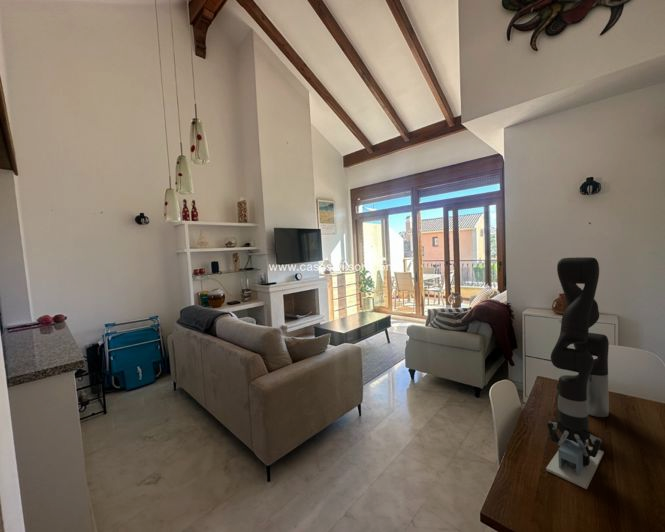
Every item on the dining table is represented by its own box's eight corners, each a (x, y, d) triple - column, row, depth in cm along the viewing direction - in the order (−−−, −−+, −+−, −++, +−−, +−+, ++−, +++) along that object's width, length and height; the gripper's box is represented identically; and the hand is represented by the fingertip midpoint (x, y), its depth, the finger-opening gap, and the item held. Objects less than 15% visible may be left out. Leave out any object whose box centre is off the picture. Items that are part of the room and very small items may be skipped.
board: (566, 439, 107) (566, 431, 107) (603, 453, 100) (603, 444, 99) (546, 470, 94) (545, 460, 94) (586, 489, 86) (586, 478, 86)
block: (569, 449, 101) (569, 433, 101) (588, 457, 97) (588, 439, 97) (558, 467, 94) (558, 449, 94) (578, 476, 90) (578, 457, 90)
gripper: (605, 414, 91) (606, 466, 92) (550, 397, 103) (551, 444, 104) (599, 424, 87) (600, 479, 88) (542, 405, 98) (543, 454, 99)
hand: (573, 460), depth 96 cm, fingers closed on block, 5 cm apart
